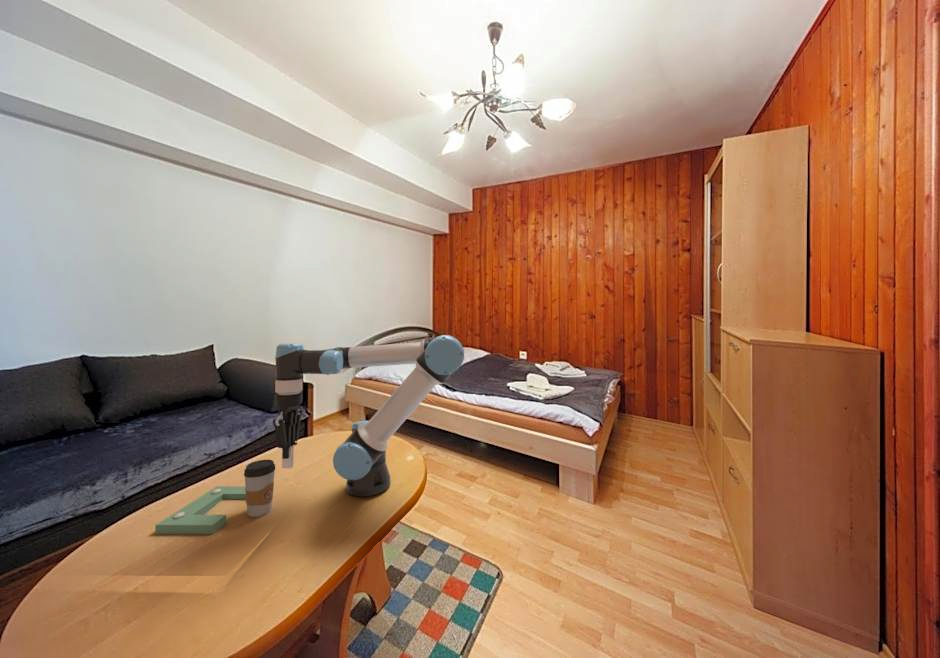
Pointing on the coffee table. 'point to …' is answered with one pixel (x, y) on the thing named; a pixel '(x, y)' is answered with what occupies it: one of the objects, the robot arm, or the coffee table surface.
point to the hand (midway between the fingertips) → (287, 467)
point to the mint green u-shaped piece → (200, 513)
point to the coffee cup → (259, 487)
